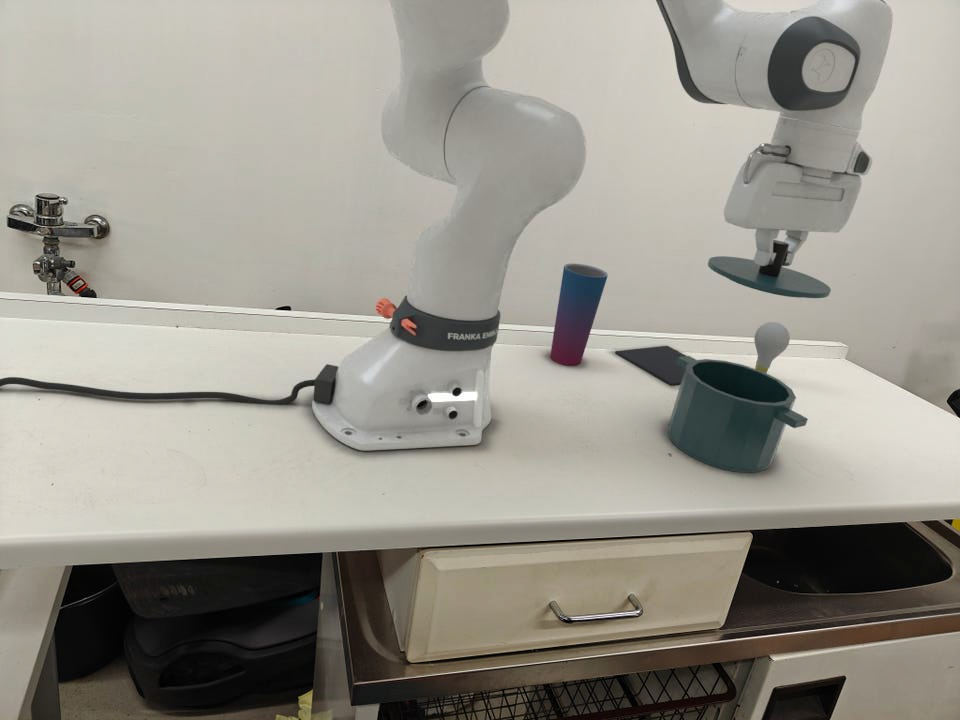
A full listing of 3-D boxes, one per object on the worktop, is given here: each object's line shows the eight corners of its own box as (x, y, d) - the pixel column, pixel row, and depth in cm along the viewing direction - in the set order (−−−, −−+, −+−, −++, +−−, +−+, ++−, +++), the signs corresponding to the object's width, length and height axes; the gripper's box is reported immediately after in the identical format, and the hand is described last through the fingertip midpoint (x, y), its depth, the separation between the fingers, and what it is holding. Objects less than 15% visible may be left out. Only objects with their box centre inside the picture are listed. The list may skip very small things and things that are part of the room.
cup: (584, 371, 112) (607, 280, 107) (542, 361, 113) (562, 270, 108) (587, 357, 119) (608, 269, 113) (547, 347, 119) (566, 260, 114)
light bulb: (781, 383, 123) (801, 328, 119) (761, 385, 120) (780, 329, 116) (756, 369, 127) (774, 316, 123) (735, 372, 124) (753, 317, 120)
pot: (744, 492, 85) (770, 422, 82) (633, 418, 99) (650, 355, 96) (810, 473, 93) (836, 407, 89) (697, 407, 107) (716, 348, 103)
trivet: (670, 385, 113) (671, 383, 113) (614, 353, 123) (615, 350, 123) (723, 377, 120) (724, 375, 120) (666, 347, 130) (667, 345, 130)
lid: (780, 305, 80) (795, 259, 78) (682, 265, 91) (693, 224, 89) (851, 301, 88) (867, 260, 86) (753, 265, 99) (765, 227, 97)
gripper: (779, 146, 75) (739, 273, 80) (880, 162, 87) (840, 272, 92) (731, 136, 80) (696, 256, 85) (833, 152, 91) (797, 257, 96)
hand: (771, 264), depth 89 cm, fingers closed on lid, 2 cm apart
